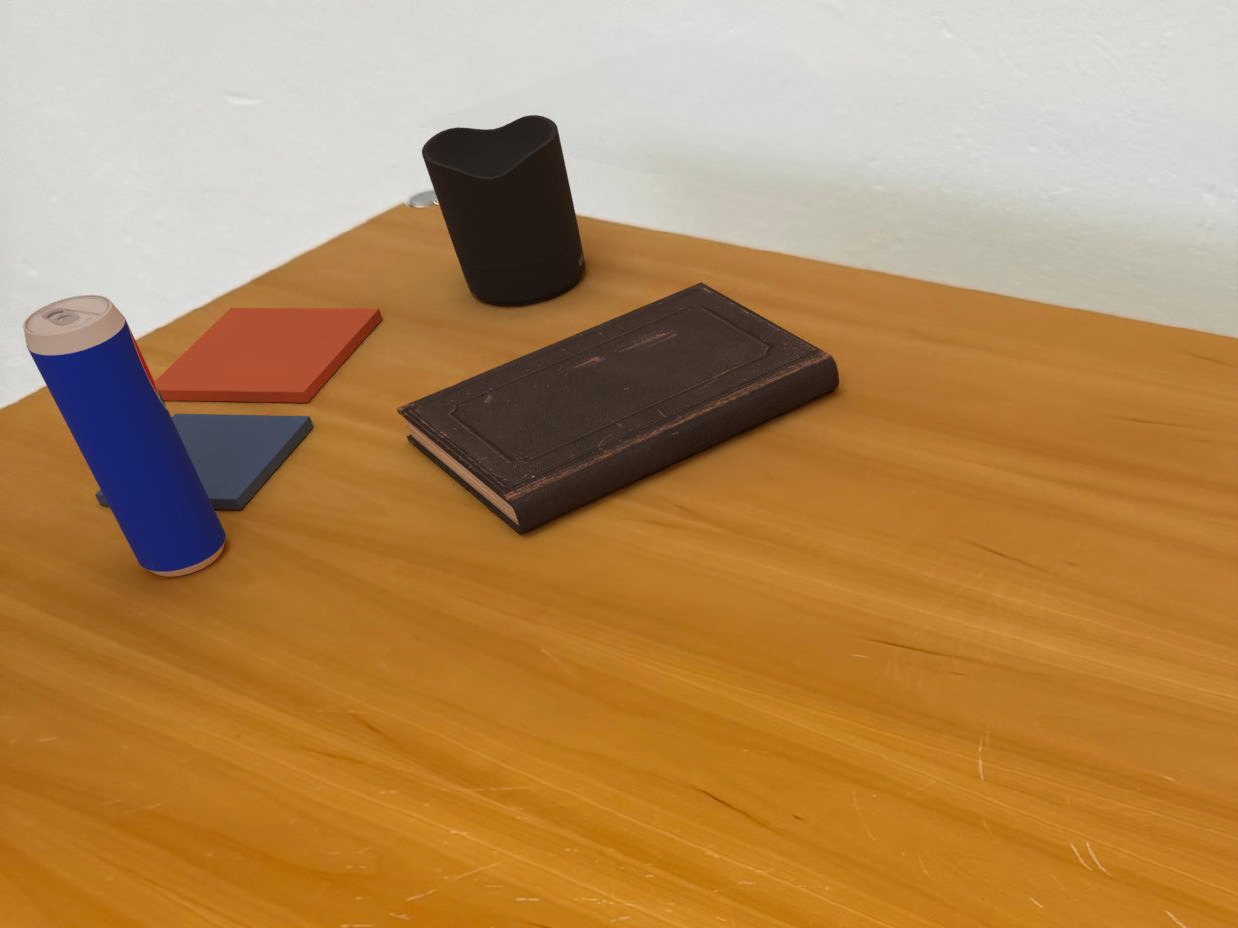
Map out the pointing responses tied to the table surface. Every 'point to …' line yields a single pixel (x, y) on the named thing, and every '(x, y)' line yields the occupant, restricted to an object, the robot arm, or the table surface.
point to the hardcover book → (615, 403)
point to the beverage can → (125, 433)
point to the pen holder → (508, 209)
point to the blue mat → (236, 452)
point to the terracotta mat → (267, 354)
